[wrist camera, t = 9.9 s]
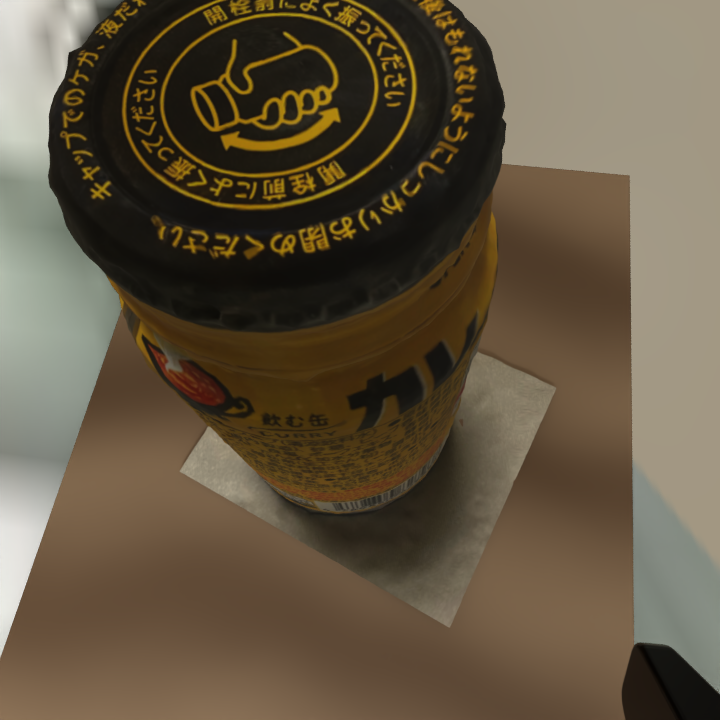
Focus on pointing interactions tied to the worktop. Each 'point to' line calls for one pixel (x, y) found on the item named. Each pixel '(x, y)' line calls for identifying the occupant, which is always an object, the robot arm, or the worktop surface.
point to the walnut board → (332, 580)
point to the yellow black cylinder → (311, 263)
